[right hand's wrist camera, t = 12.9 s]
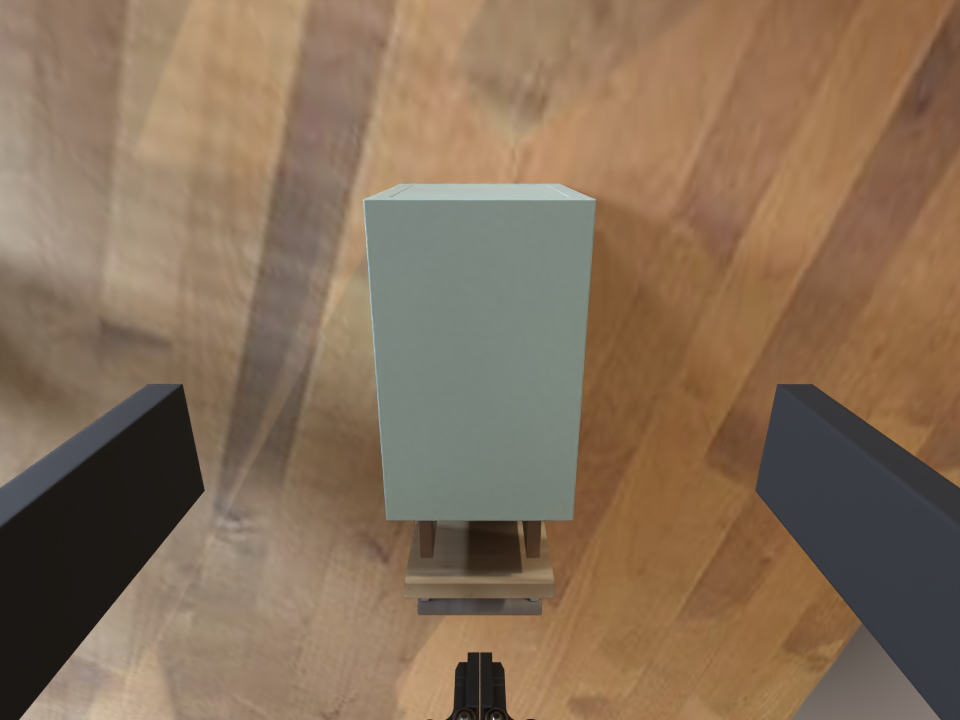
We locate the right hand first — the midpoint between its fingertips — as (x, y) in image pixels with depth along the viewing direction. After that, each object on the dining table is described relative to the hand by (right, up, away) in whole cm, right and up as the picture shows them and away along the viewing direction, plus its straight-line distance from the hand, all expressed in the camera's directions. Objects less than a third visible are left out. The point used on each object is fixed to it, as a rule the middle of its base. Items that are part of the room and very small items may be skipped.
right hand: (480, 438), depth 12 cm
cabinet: (0, +5, +25) cm, 26 cm away
